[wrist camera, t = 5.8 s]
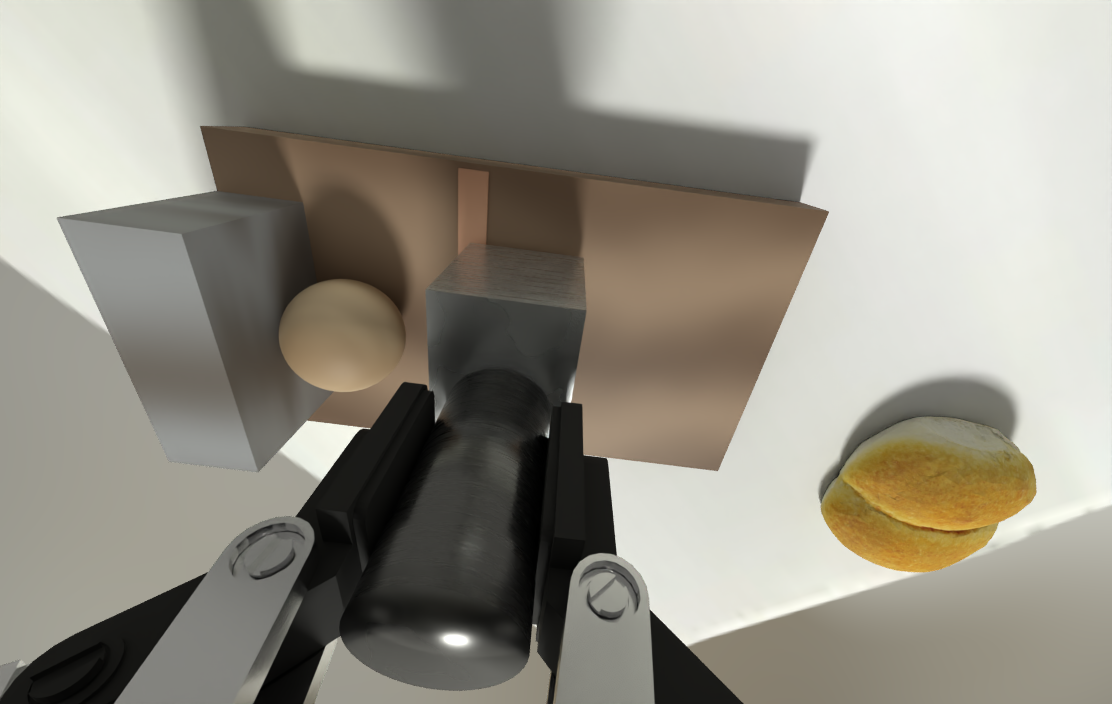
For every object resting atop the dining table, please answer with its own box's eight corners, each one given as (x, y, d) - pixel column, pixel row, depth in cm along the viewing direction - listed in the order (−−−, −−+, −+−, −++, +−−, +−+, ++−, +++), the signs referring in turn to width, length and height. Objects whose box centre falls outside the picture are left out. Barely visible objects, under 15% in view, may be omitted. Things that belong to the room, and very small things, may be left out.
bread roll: (794, 523, 24) (830, 590, 21) (869, 402, 20) (931, 460, 16) (929, 540, 24) (988, 610, 21) (1033, 423, 20) (1130, 486, 16)
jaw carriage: (470, 242, 14) (254, 467, 5) (583, 257, 14) (597, 509, 5) (467, 403, 18) (339, 725, 8) (559, 415, 18) (538, 747, 8)
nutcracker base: (244, 126, 15) (13, 123, 9) (800, 202, 15) (949, 249, 9) (302, 392, 21) (187, 502, 15) (706, 442, 21) (759, 570, 15)
